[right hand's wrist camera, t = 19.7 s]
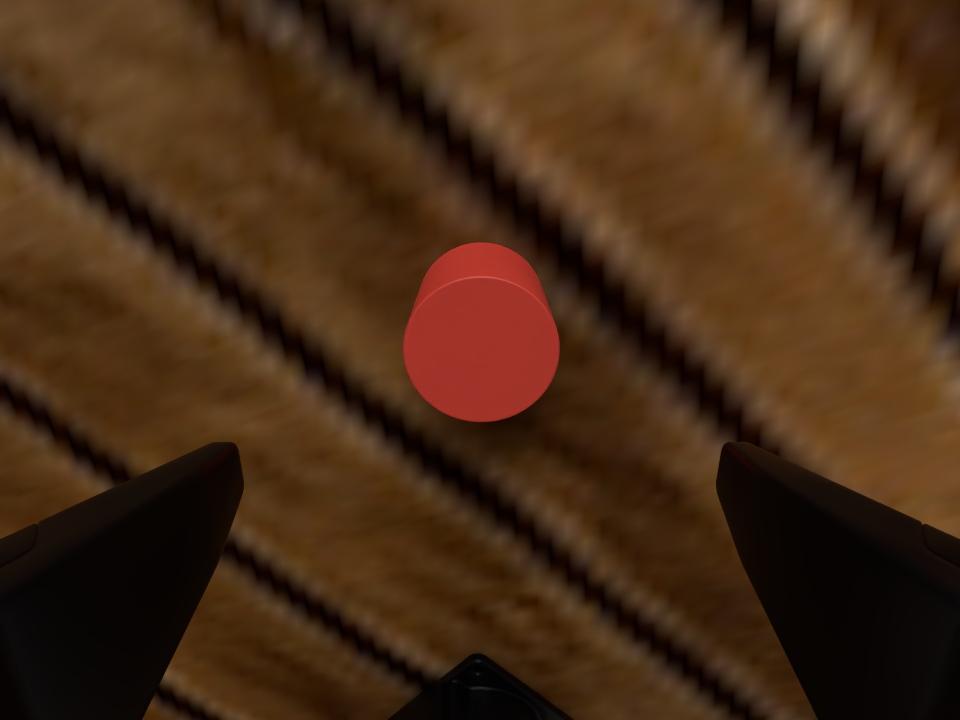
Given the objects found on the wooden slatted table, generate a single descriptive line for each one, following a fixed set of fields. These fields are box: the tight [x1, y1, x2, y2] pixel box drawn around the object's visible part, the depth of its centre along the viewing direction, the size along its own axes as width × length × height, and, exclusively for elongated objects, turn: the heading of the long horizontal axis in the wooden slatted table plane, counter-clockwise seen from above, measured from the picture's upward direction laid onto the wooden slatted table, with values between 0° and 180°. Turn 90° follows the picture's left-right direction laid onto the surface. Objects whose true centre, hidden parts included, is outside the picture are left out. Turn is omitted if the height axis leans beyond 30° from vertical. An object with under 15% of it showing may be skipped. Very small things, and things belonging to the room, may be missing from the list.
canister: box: [403, 243, 560, 422], centre depth 19 cm, size 4×4×4 cm
